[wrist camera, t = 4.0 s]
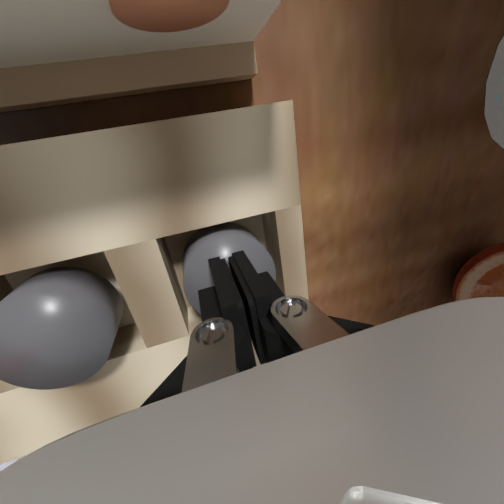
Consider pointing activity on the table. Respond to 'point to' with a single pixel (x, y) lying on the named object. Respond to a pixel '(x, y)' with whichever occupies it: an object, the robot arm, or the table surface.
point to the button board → (140, 241)
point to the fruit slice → (481, 275)
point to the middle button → (57, 328)
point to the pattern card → (123, 47)
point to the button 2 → (219, 245)
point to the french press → (496, 97)
